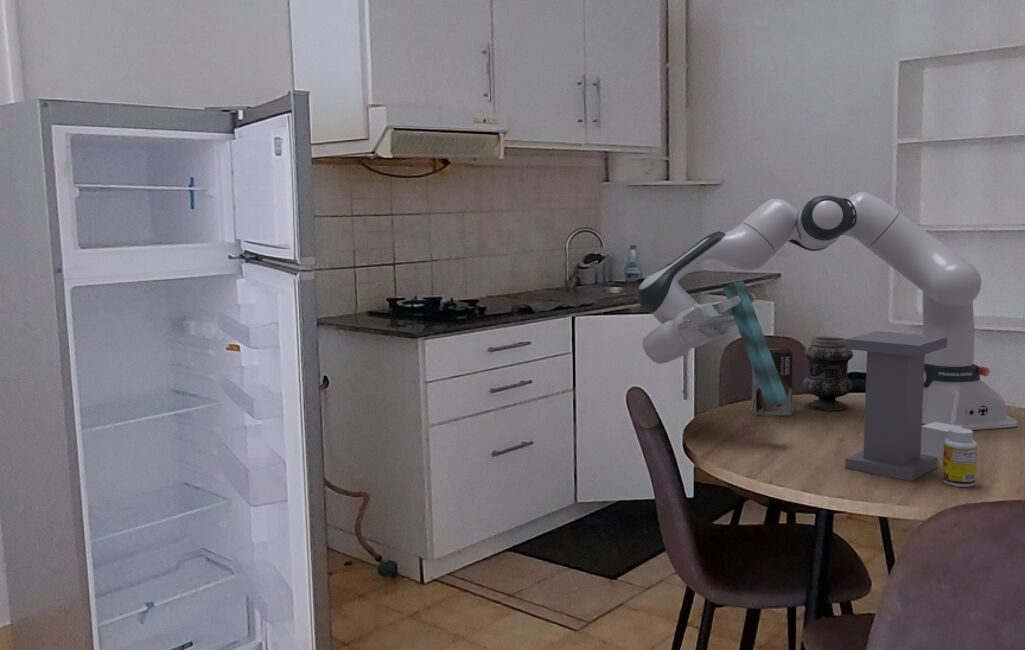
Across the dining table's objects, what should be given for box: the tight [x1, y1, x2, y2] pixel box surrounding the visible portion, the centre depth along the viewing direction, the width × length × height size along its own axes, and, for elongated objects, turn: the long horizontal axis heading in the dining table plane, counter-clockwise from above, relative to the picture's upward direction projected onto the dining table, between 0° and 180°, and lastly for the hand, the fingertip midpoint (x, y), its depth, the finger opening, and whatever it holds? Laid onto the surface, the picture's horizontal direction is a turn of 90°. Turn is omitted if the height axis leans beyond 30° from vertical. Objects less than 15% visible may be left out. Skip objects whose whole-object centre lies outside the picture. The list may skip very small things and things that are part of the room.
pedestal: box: [844, 330, 947, 482], centre depth 181 cm, size 14×14×26 cm
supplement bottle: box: [942, 428, 978, 488], centre depth 171 cm, size 6×6×10 cm
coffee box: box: [751, 347, 794, 417], centre depth 230 cm, size 9×6×16 cm
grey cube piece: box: [920, 422, 964, 460], centre depth 191 cm, size 6×6×6 cm
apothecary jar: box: [802, 335, 854, 412], centre depth 236 cm, size 12×12×18 cm
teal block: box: [722, 280, 788, 408], centre depth 201 cm, size 28×4×3 cm
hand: (746, 297), depth 202 cm, fingers closed on teal block, 4 cm apart
